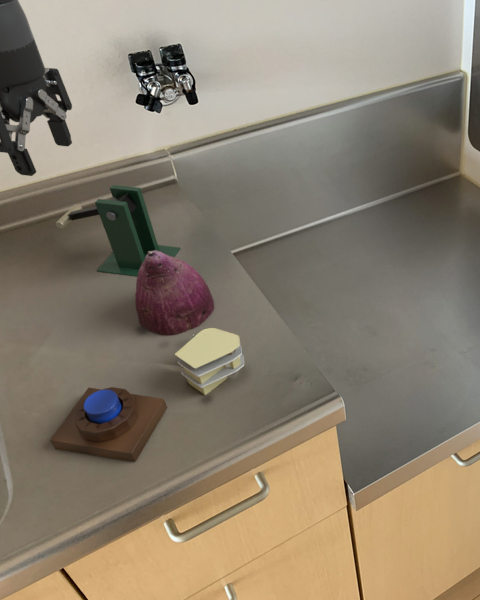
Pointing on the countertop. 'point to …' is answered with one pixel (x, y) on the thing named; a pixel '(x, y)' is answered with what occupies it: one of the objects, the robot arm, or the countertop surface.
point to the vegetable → (171, 295)
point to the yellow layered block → (210, 358)
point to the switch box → (111, 427)
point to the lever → (91, 211)
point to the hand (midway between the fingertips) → (47, 159)
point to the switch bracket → (128, 233)
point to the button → (102, 406)
